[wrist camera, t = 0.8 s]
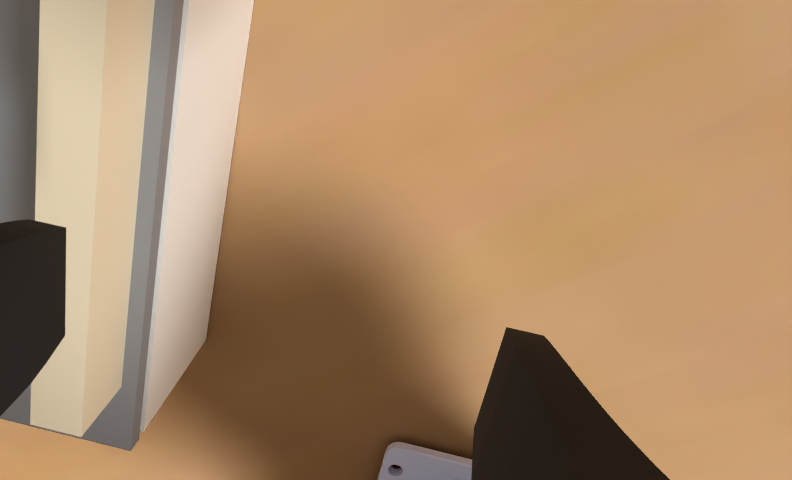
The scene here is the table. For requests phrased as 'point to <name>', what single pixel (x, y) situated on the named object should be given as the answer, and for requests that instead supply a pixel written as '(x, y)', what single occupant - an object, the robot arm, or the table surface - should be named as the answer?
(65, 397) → the lid
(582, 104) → the table surface
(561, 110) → the table surface
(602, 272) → the table surface
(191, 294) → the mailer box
